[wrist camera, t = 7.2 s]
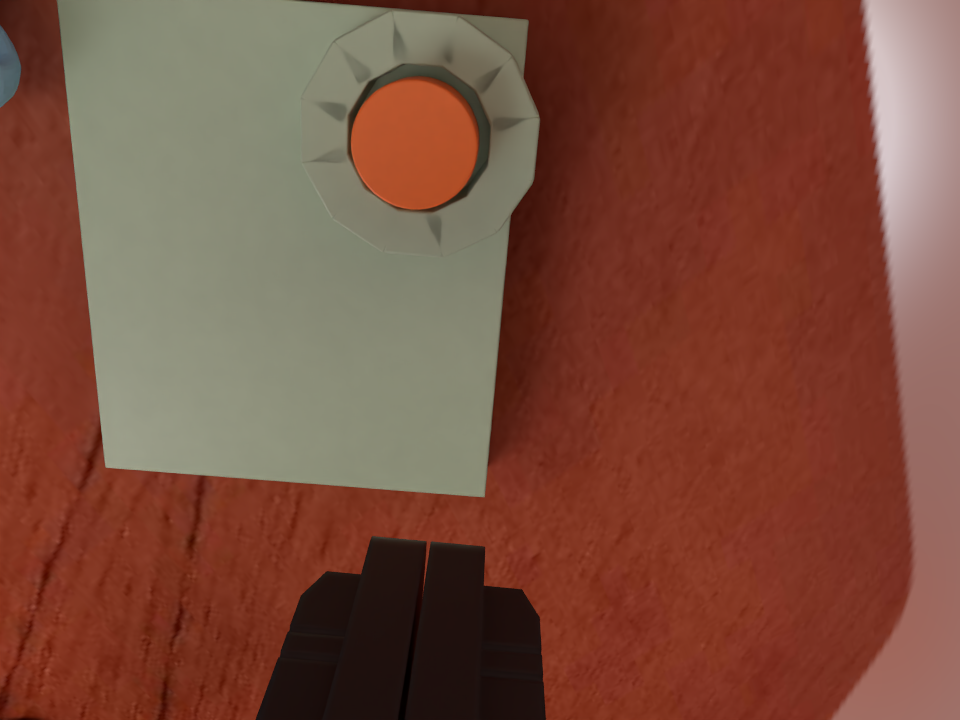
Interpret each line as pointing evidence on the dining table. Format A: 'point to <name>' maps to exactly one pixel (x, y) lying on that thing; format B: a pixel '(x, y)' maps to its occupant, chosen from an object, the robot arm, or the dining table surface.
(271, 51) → the orange button base
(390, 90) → the button
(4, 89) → the teapot
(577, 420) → the dining table surface
